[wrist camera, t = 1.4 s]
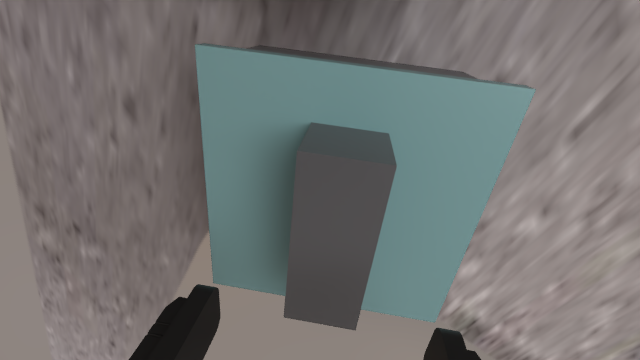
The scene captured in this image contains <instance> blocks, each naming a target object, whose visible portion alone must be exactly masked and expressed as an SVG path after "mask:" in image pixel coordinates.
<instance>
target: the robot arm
mask: <svg viewBox="0 0 640 360" xmlns="http://www.w3.org/2000/svg"><path fill="white" fill-rule="evenodd" d="M219 320H220V302H219V290H218V288H216V287H210V286H205V285H199V284H198V285H196V286H195V287H194V289H193V290H192V292H191V293H190V295H189V297H188V298H182V297H178V298H177V299H176V300H174V301H173V302H172V303H171V304H169V305H168V306H167V307H165V309H164V310H163V312H162V313H161V315H160V316H159V317H158V319H157V320H156V323H155V324H154V325H153V326H152V327H151V329H150V330H149V332H148V334H147V335H146V336H145V337H144V339H143V340H142V342H141V343H140V345H139V346H138V347H137V349H136V350H135V352H134V353H133V355H132V356H131V357H130V359H129V360H203V358H204V356H205V354H206V352H207V350H208V348H209V345H210V344H211V341H212V340H213V337H214V335H215V333H216V331H217V328H218V324H219ZM424 360H481V359H480V357H479V356H478V355H477V353H476V352H475V351H470V350H467V349H466V346H465V343H464V340H463V337H462V335H461V333H460V332H458V331H453V330H447V329H442V328H436V329H435V331H434V333H433V335H432V337H431V340H430V342H429V344H428V347H427V349H426V351H425V355H424Z"/></svg>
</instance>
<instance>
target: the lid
mask: <svg viewBox="0 0 640 360" xmlns="http://www.w3.org/2000/svg"><path fill="white" fill-rule="evenodd" d="M195 51H196V64H197V77H198V90H199V103H200V116H201V129H202V142H203V155H204V168H205V181H206V194H207V207H208V220H209V233H210V246H211V257H212V258H211V259H212V271H213V283H216V284H221V285H227V286H232V287H238V288H244V289H249V290H255V291H260V292H266V293H272V294H277V295H283V296H285V308H284V317H285V318H291V319H296V320H302V321H307V322H313V323H319V324H324V325H329V326H334V327H340V328H345V329H351V330H356V326H357V322H358V318H359V314H360V310H368V311H373V312H379V313H384V314H390V315H395V316H401V317H407V318H412V319H418V320H423V321H429V322H435V321H436V319H437V317H438V314H439V312H440V310H441V307H442V305H443V303H444V300H445V298H446V296H447V293H448V291H449V289H450V287H451V284H452V282H453V280H454V277H455V275H456V273H457V270H458V268H459V266H460V263H461V261H462V259H463V257H464V254H465V252H466V250H467V247H468V245H469V243H470V240H471V238H472V236H473V233H474V231H475V229H476V227H477V224H478V222H479V220H480V217H481V215H482V213H483V210H484V208H485V206H486V203H487V201H488V199H489V197H490V194H491V192H492V190H493V187H494V185H495V183H496V180H497V178H498V176H499V174H500V171H501V169H502V167H503V164H504V162H505V160H506V157H507V155H508V153H509V150H510V148H511V146H512V144H513V141H514V139H515V137H516V134H517V132H518V130H519V127H520V125H521V123H522V120H523V118H524V116H525V114H526V111H527V109H528V107H529V104H530V102H531V100H532V97H533V95H534V93H535V90H536V89H534V88H531V87H528V86H526V85H518V84H510V83H503V82H495V81H488V80H480V79H472V78H465V77H457V76H450V75H442V74H434V73H427V72H419V71H411V70H404V69H396V68H389V67H381V66H373V65H366V64H358V63H350V62H343V61H335V60H328V59H320V58H312V57H305V56H297V55H290V54H282V53H274V52H267V51H259V50H251V49H244V48H236V47H229V46H221V45H213V44H206V43H203V44H195Z"/></svg>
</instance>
